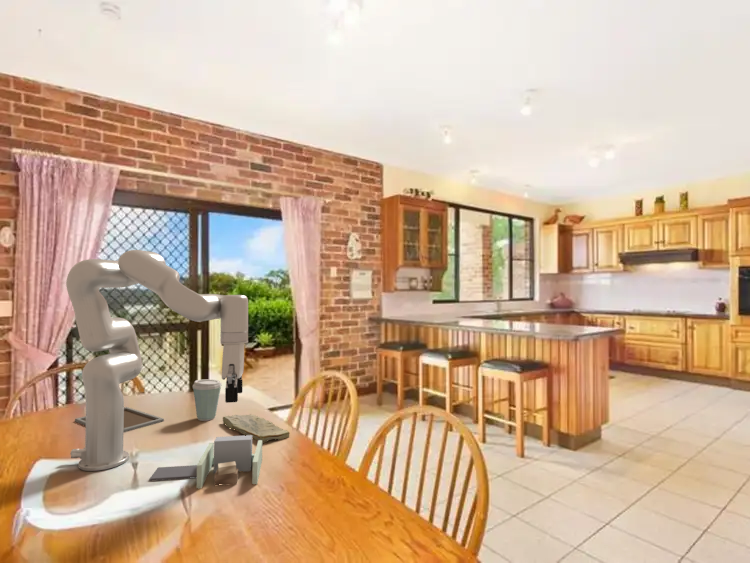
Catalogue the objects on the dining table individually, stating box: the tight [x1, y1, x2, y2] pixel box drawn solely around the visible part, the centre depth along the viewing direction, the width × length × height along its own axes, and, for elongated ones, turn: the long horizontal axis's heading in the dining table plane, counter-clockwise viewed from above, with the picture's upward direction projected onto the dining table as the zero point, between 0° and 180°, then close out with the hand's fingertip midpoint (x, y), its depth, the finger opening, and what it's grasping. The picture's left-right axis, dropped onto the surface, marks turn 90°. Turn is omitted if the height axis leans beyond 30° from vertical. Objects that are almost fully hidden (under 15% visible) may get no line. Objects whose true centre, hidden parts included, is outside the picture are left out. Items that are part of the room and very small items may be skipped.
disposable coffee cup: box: [192, 379, 222, 422], centre depth 166 cm, size 11×11×15 cm
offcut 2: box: [214, 469, 239, 486], centre depth 114 cm, size 6×3×3 cm, turn 100°
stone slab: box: [222, 414, 290, 443], centre depth 154 cm, size 12×4×30 cm
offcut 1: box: [218, 461, 236, 475], centre depth 113 cm, size 4×3×2 cm, turn 114°
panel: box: [148, 464, 197, 482], centre depth 118 cm, size 13×7×1 cm, turn 100°
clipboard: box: [74, 406, 165, 433], centre depth 162 cm, size 19×2×30 cm
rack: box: [196, 440, 263, 489], centre depth 119 cm, size 15×16×6 cm
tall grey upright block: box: [213, 435, 253, 474], centre depth 121 cm, size 10×4×9 cm, turn 100°
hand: (234, 397), depth 121 cm, fingers open, 9 cm apart
